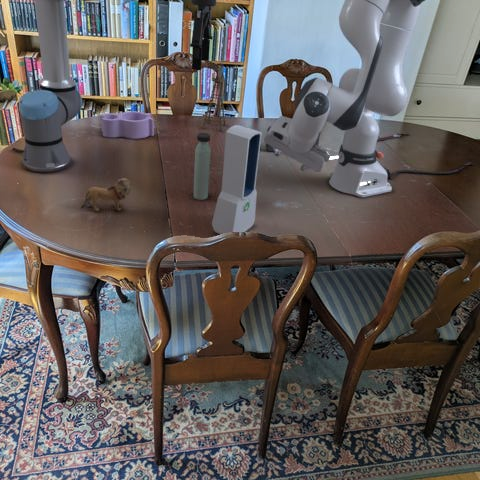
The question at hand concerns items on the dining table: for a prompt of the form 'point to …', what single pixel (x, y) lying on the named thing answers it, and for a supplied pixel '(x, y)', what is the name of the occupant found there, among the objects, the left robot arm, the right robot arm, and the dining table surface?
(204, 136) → the cap
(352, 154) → the right robot arm
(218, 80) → the eiffel tower model
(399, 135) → the sword
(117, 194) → the lion figurine
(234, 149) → the electronic device
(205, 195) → the bottle
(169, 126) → the dining table surface
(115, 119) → the clip
